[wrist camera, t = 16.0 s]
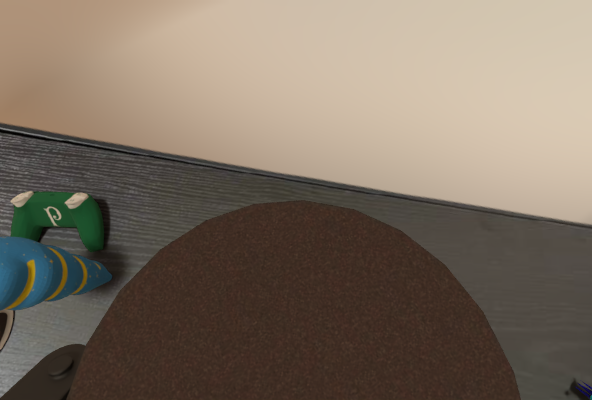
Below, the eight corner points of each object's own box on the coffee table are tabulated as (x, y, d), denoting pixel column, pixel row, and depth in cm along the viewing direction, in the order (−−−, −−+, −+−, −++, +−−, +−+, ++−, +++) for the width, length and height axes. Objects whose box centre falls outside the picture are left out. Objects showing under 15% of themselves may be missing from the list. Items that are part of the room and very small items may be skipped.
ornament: (113, 311, 29) (-71, 342, 14) (73, 288, 30) (-141, 296, 15) (142, 265, 30) (-1, 250, 16) (103, 244, 31) (-69, 211, 16)
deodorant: (237, 343, 17) (-55, 633, 3) (269, 251, 19) (178, 154, 5) (328, 377, 17) (506, 933, 2) (354, 279, 18) (553, 270, 4)
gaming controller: (120, 234, 33) (104, 188, 30) (99, 255, 30) (79, 206, 27) (42, 232, 33) (19, 186, 30) (13, 253, 30) (-16, 203, 27)
